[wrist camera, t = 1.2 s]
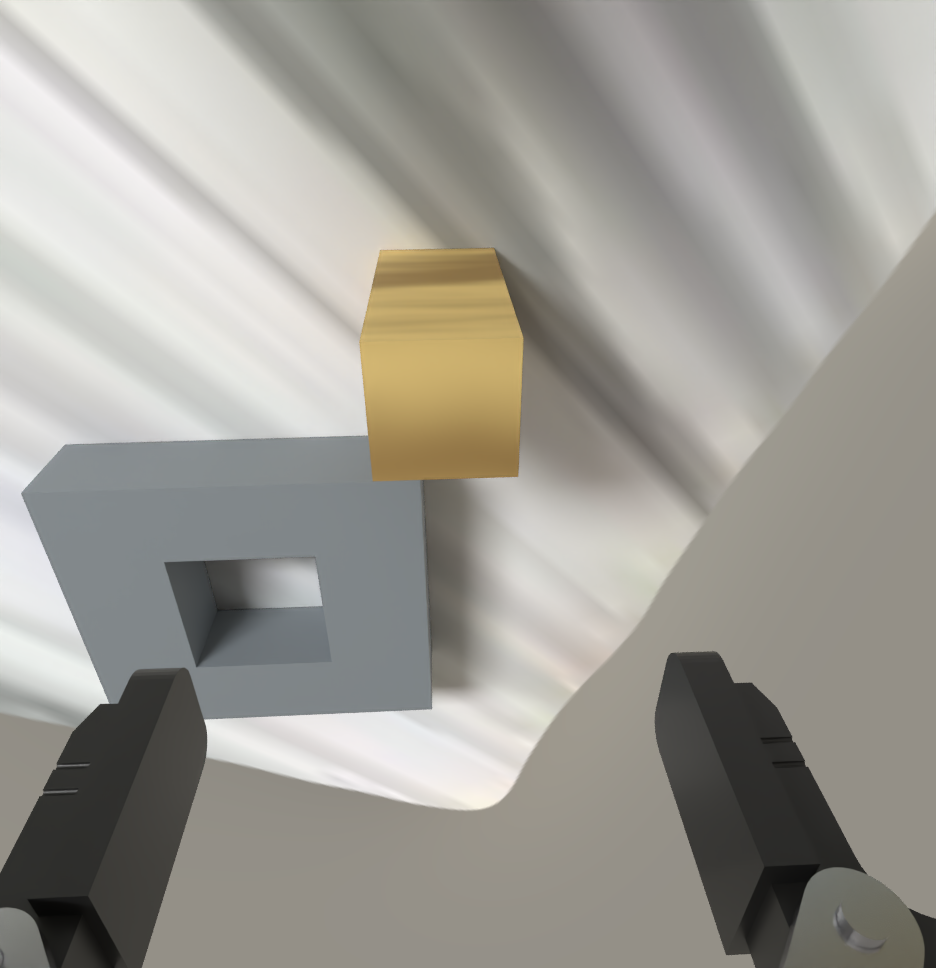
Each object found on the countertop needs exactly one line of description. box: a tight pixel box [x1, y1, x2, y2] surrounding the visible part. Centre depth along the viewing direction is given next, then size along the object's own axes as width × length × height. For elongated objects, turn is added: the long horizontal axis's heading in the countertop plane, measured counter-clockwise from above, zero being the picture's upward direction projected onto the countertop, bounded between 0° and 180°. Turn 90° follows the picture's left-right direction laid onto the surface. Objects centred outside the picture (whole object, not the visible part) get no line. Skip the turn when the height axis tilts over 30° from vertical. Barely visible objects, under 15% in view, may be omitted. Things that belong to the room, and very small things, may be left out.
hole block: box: [21, 436, 432, 719], centre depth 34 cm, size 14×16×4 cm
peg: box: [359, 248, 523, 481], centre depth 24 cm, size 4×4×10 cm
